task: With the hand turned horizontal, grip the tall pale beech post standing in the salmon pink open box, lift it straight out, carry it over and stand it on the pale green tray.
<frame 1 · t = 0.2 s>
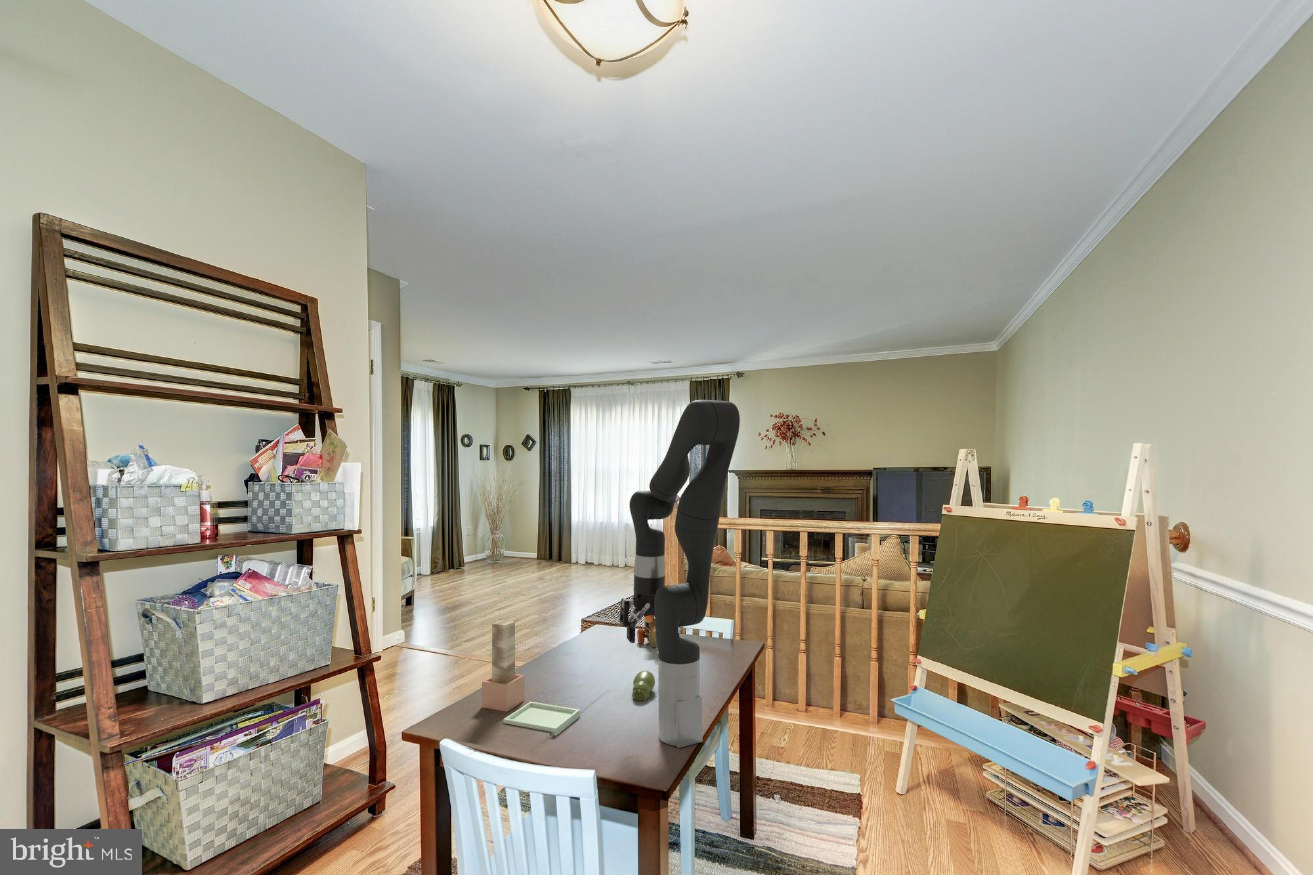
hand: (647, 639, 144), 18 cm above the table, tool pointing down, fingers open, 8 cm apart
salmon pink open box: (503, 706, 149), on the table
post: (503, 703, 149), point 1 cm above the table, touching salmon pink open box
pear: (642, 695, 156), on the table
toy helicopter: (653, 648, 196), on the table
tray: (542, 721, 140), on the table
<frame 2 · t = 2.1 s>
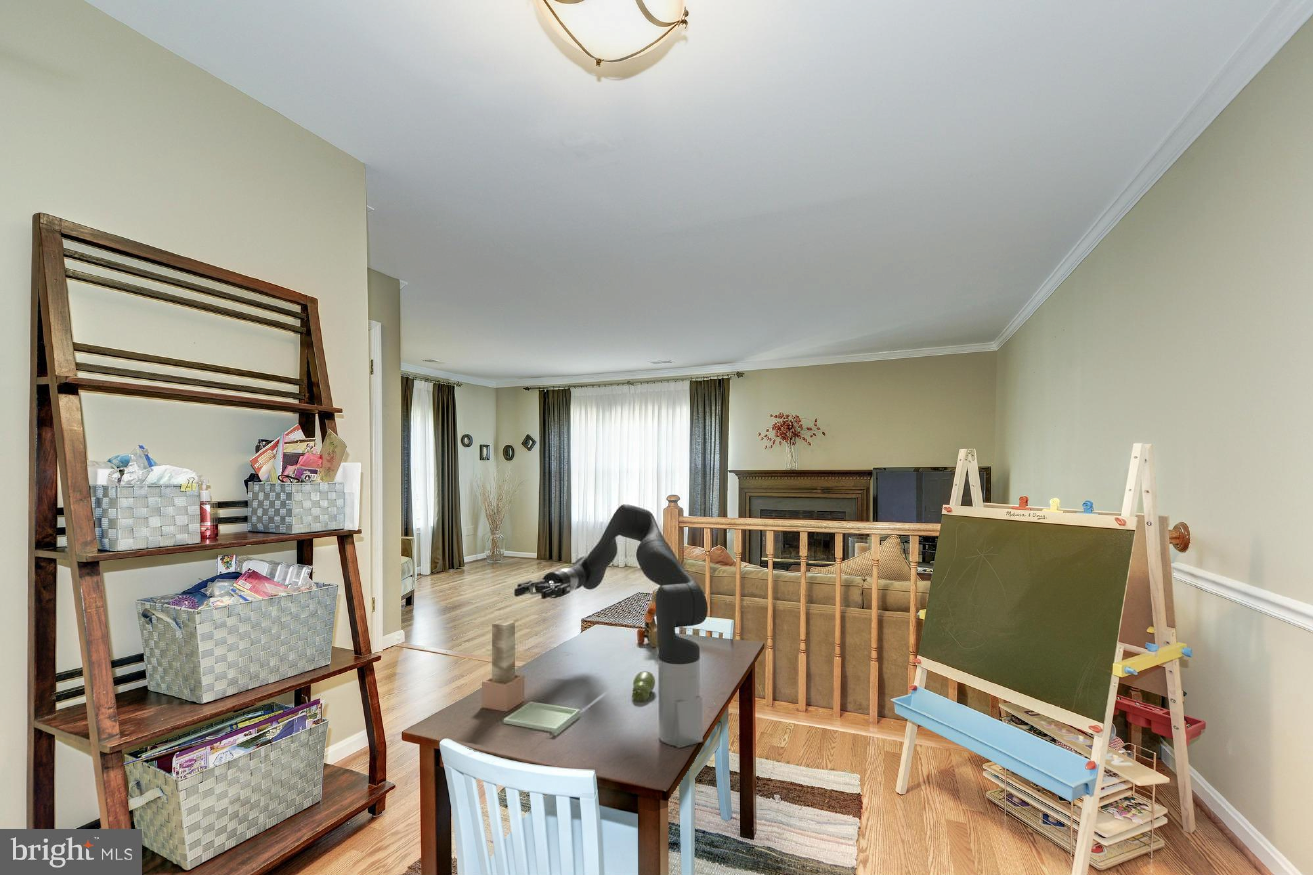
hand: (528, 593, 160), 26 cm above the table, tool horizontal, fingers open, 8 cm apart
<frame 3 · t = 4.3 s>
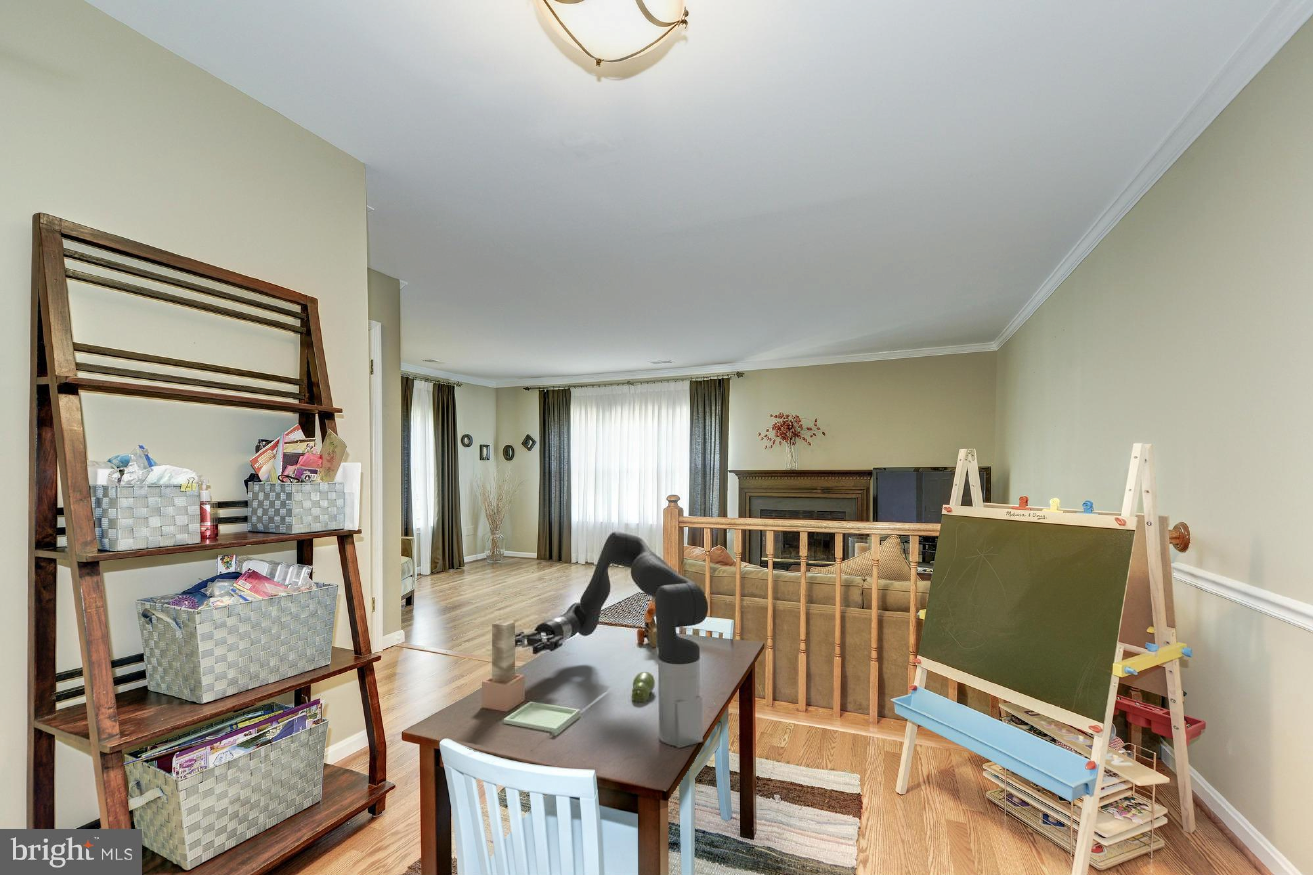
hand: (519, 648, 156), 12 cm above the table, tool horizontal, fingers open, 8 cm apart
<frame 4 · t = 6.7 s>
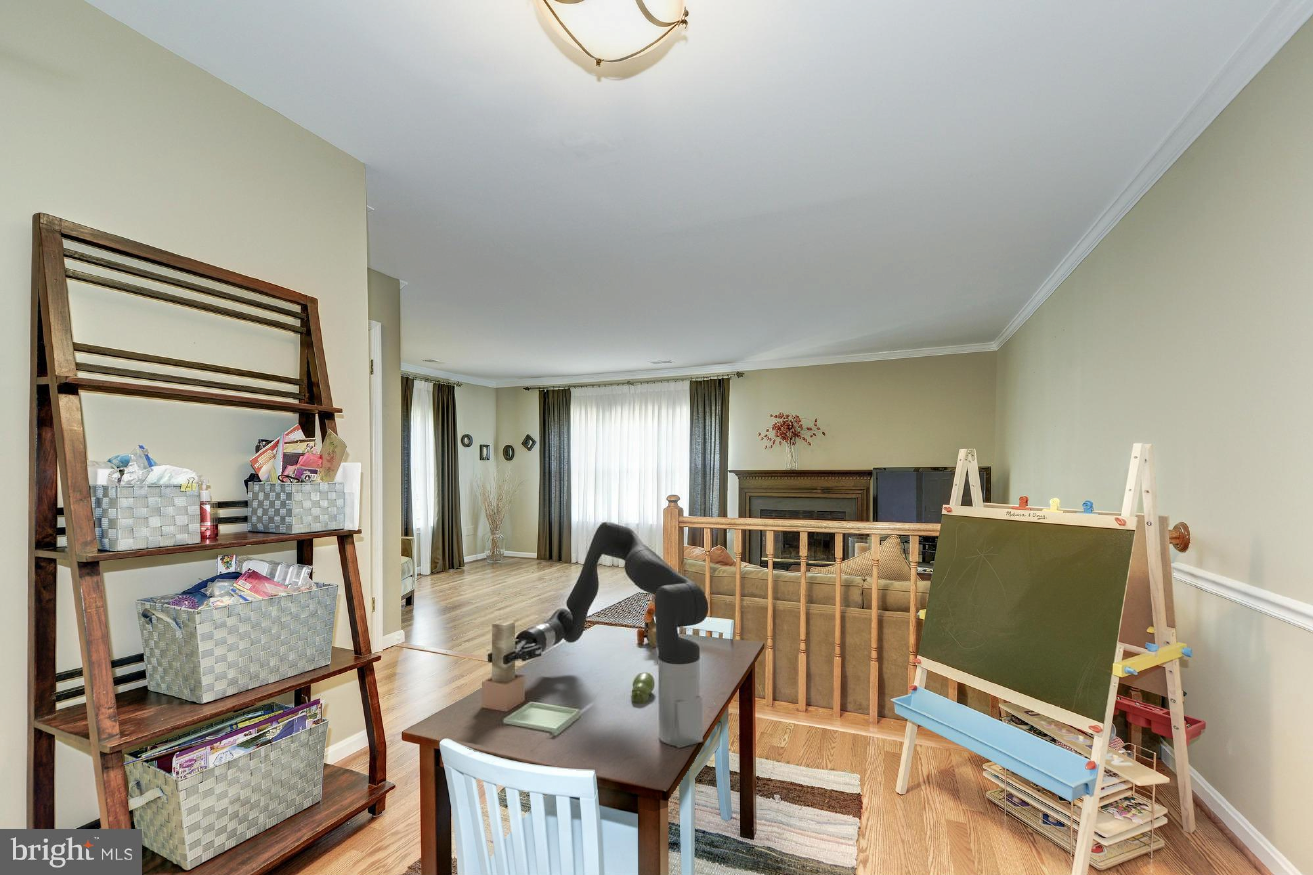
hand: (496, 659, 147), 12 cm above the table, tool horizontal, fingers closed on post, 4 cm apart
post: (503, 703, 149), point 1 cm above the table, touching salmon pink open box, gripper
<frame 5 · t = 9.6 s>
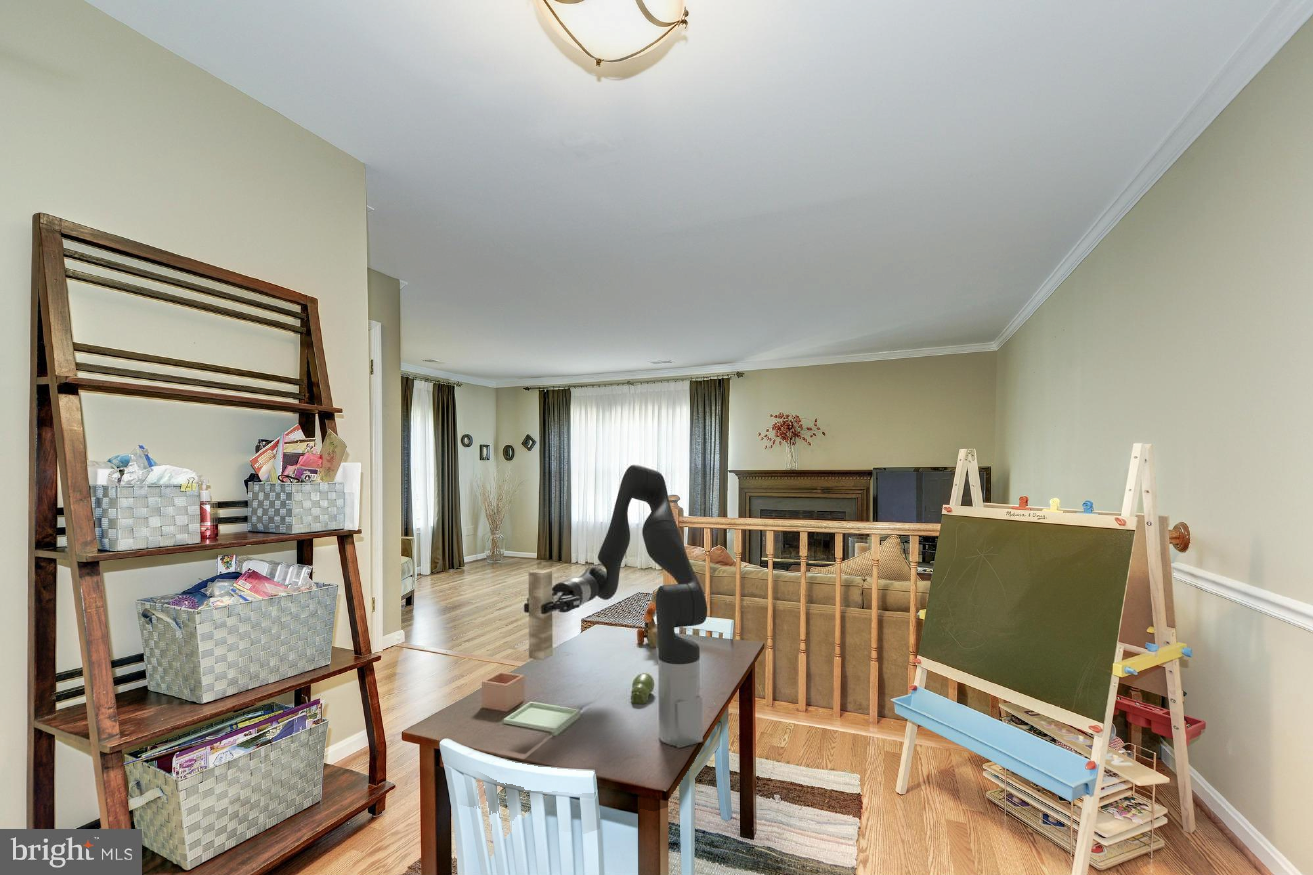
hand: (534, 609, 139), 27 cm above the table, tool horizontal, fingers closed on post, 4 cm apart
post: (540, 656, 141), point 15 cm above the table, touching gripper
when the fingers open (13 cm above the table, at t = 12.6 s): post stays where it is, resting on tray.
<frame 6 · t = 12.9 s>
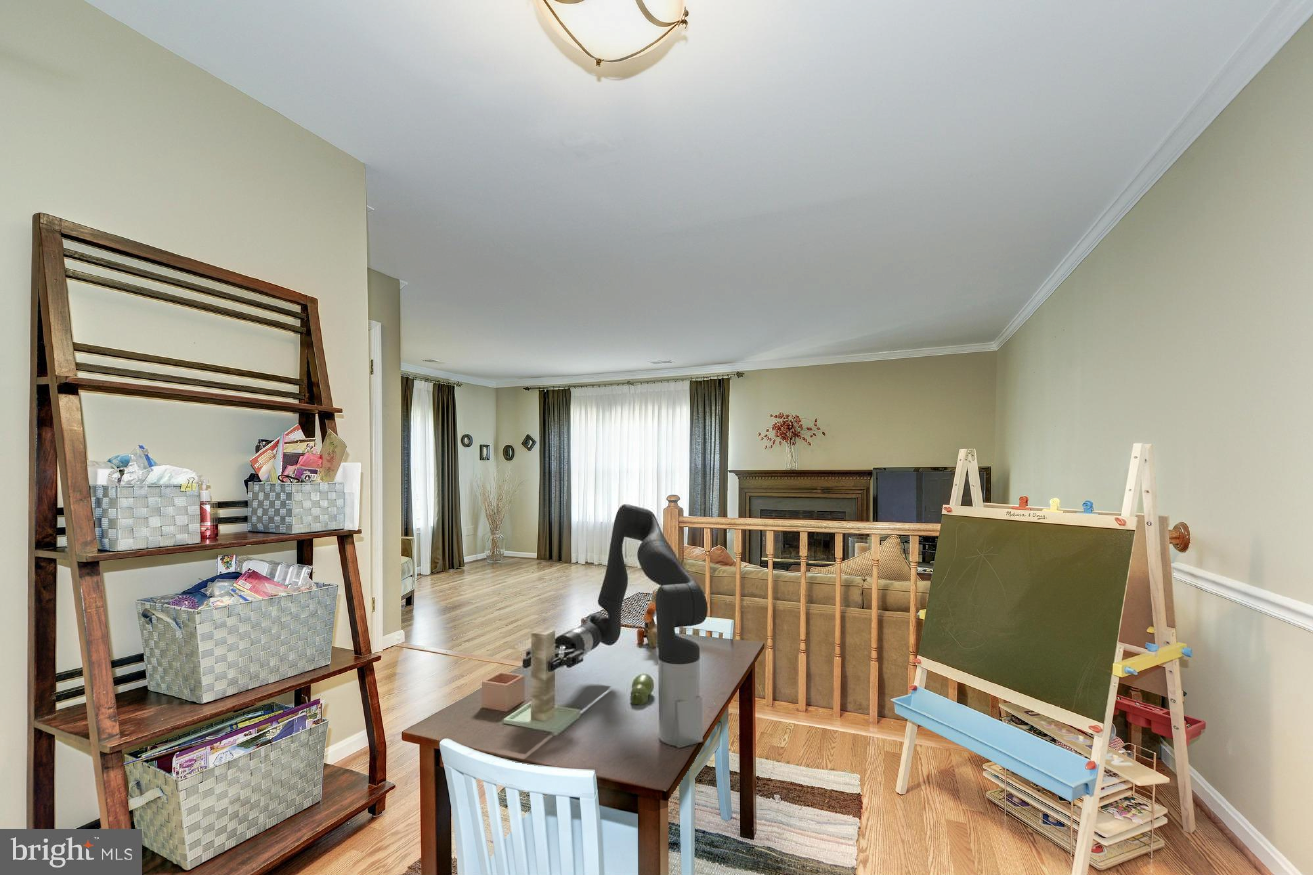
hand: (536, 665, 139), 14 cm above the table, tool horizontal, fingers open, 6 cm apart
post: (542, 717, 140), point 1 cm above the table, touching tray
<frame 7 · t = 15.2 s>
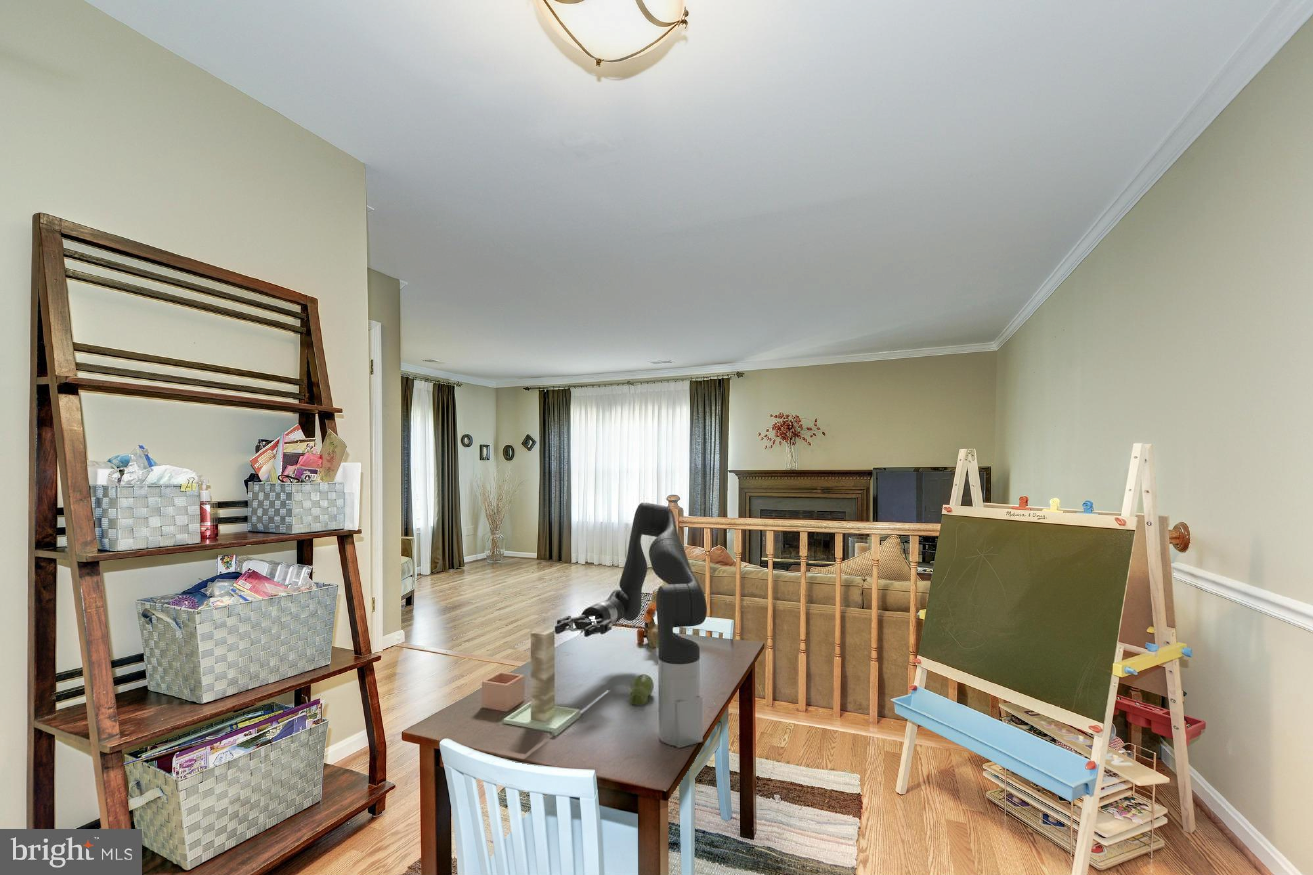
hand: (570, 631, 153), 17 cm above the table, tool horizontal, fingers open, 8 cm apart
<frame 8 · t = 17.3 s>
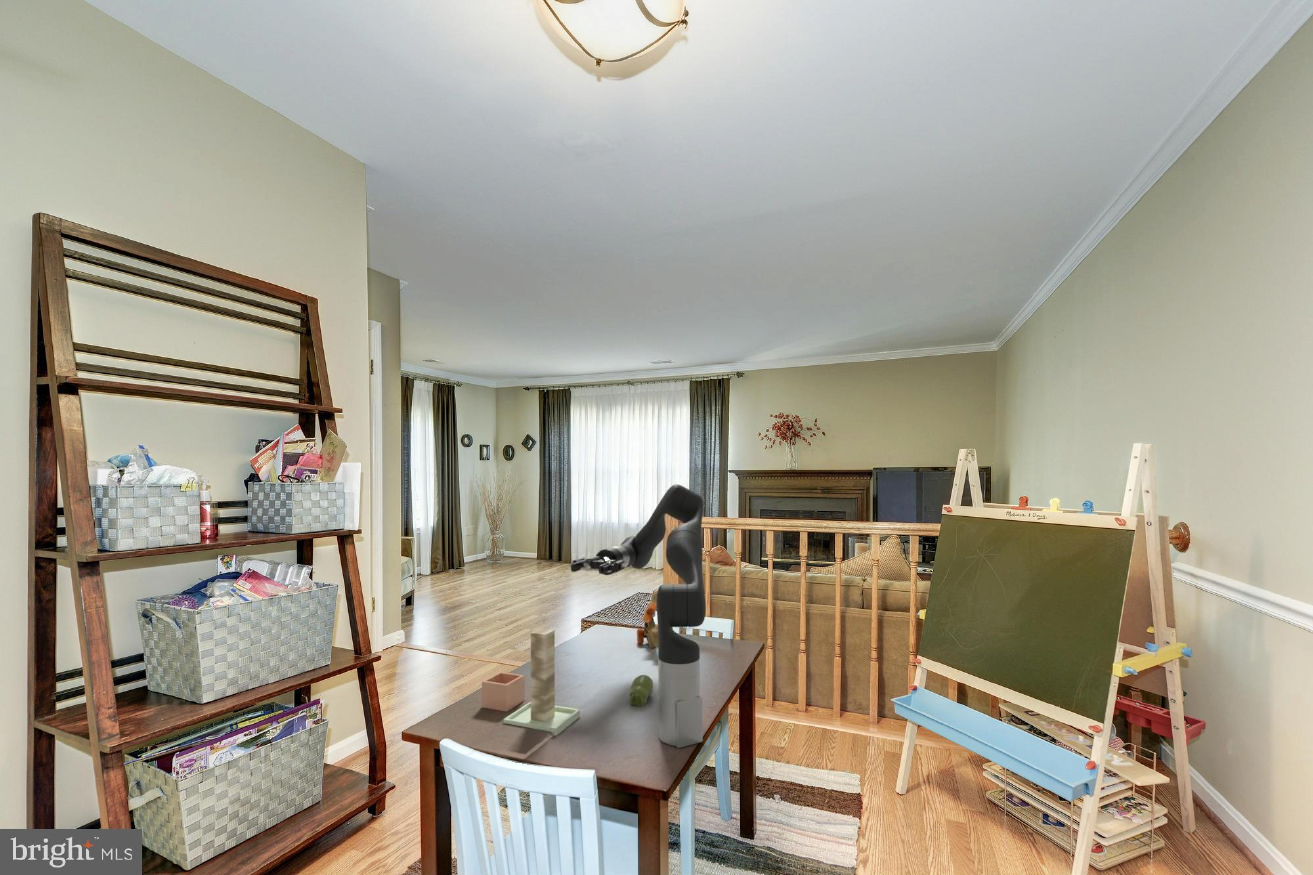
hand: (586, 568, 162), 32 cm above the table, tool horizontal, fingers open, 8 cm apart
at the end: post inside the target area on the tray (0.1 cm from its centre), point 0.8 cm above the tray's base; post tilted 0°; post touching tray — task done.
